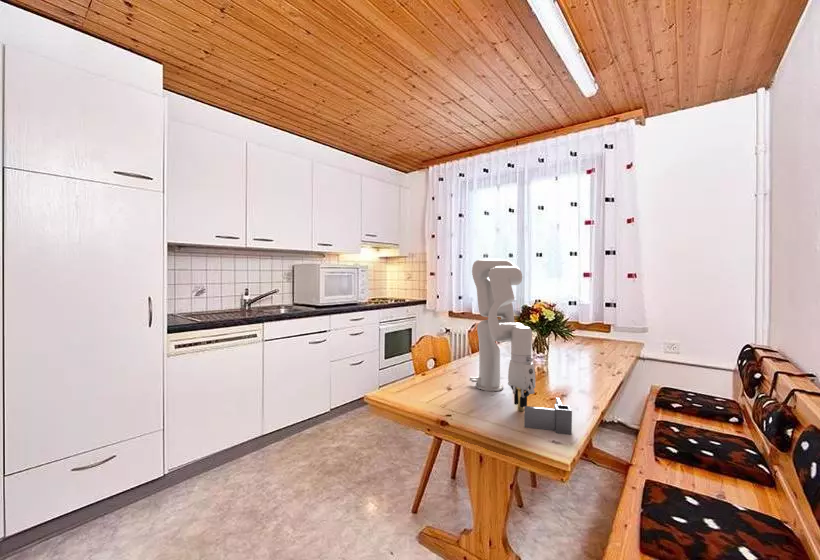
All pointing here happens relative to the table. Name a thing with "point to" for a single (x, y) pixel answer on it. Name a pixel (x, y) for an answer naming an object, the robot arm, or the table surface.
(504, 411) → the table surface
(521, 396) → the hinge pin
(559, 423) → the hinge bracket
